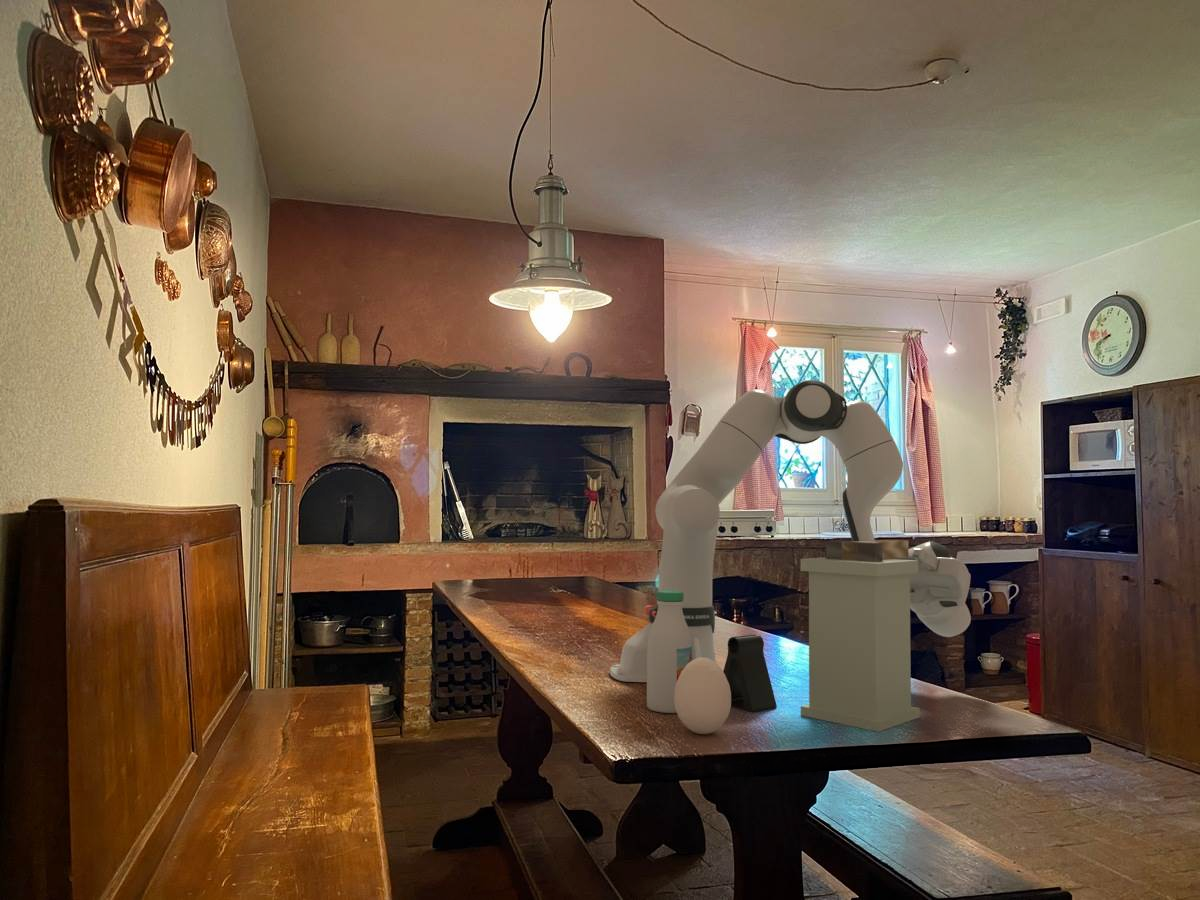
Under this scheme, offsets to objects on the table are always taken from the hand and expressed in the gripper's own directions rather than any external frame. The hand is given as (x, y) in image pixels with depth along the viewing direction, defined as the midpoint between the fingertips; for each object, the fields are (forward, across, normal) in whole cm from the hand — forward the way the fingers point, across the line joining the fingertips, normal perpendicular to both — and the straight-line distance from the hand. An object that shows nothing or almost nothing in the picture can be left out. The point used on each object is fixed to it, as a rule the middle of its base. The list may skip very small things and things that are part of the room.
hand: (891, 550), depth 154 cm
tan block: (+4, 0, +4) cm, 6 cm away
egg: (+21, -11, +44) cm, 50 cm away
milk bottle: (+14, -24, +40) cm, 49 cm away
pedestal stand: (-4, 0, +29) cm, 30 cm away
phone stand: (+3, -17, +34) cm, 38 cm away
